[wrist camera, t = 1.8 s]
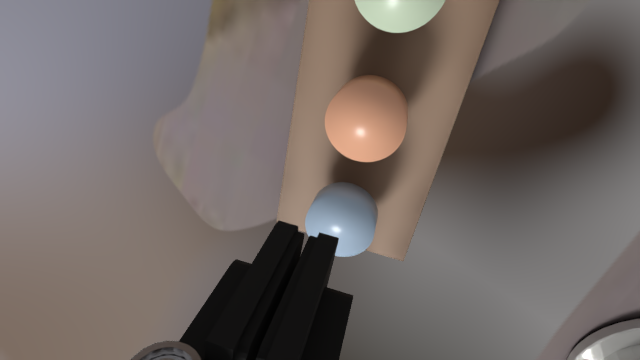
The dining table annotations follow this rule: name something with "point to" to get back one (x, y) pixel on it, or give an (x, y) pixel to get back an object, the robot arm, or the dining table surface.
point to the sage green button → (398, 13)
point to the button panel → (418, 89)
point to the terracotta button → (367, 118)
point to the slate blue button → (344, 217)
